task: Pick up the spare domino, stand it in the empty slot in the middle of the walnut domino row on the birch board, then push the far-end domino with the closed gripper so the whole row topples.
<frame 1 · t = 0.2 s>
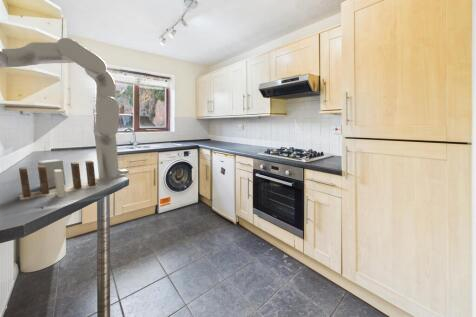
spare domino: (61, 197, 88), on the countertop
domino end: (26, 195, 88), point 1 cm above the countertop, touching board
supplement box: (53, 187, 103), on the countertop
domino 4: (45, 192, 91), point 1 cm above the countertop, touching board
domino 2: (77, 187, 99), point 1 cm above the countertop, touching board
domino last: (91, 184, 103), point 1 cm above the countertop, touching board
board: (62, 192, 96), on the countertop
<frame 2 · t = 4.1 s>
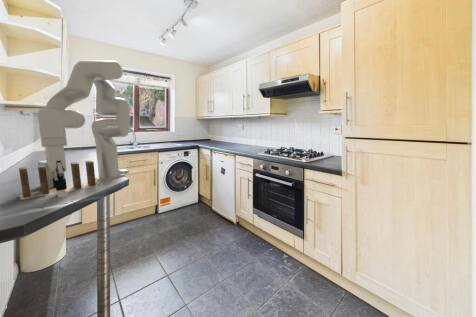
hand: (60, 187, 88), 4 cm above the countertop, tool pointing down, fingers closed on spare domino, 5 cm apart
spare domino: (61, 197, 88), on the countertop, touching gripper
everything else where it was.
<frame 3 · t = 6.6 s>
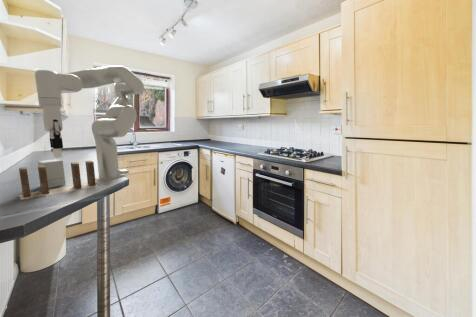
hand: (56, 147, 93), 19 cm above the countertop, tool pointing down, fingers closed on spare domino, 5 cm apart
spare domino: (58, 157, 93), point 15 cm above the countertop, touching gripper
everything else where it was.
when the fingers open (6 cm above the countertop, at t = 9.5 s): spare domino stays where it is, resting on board.
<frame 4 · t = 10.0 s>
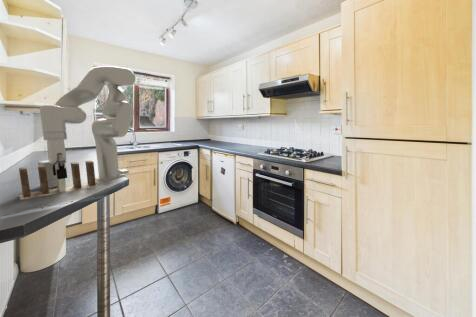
hand: (60, 176, 95), 7 cm above the countertop, tool pointing down, fingers open, 9 cm apart
spare domino: (61, 190, 95), point 1 cm above the countertop, touching board
everything else where it was.
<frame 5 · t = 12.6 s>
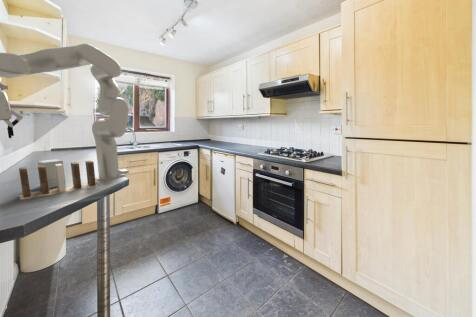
nothing on the countertop moved.
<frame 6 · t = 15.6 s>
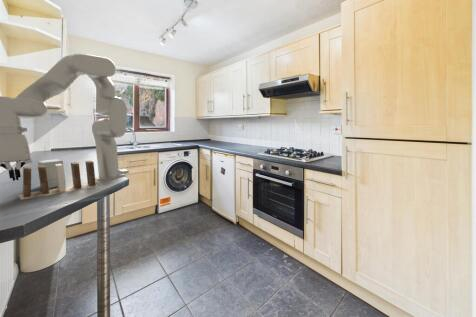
hand: (15, 179, 85), 8 cm above the countertop, tool pointing down, fingers closed
domino end: (26, 195, 88), point 1 cm above the countertop, tilted 7°, touching board, gripper
everything else where it was.
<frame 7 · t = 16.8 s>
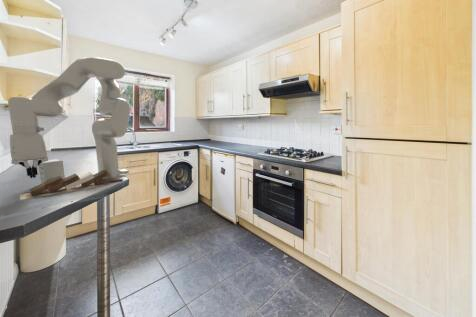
hand: (32, 177, 88), 8 cm above the countertop, tool pointing down, fingers closed
spare domino: (65, 187, 96), point 2 cm above the countertop, tilted 70°, touching board, domino 2, domino 4
domino end: (30, 192, 88), point 2 cm above the countertop, tilted 68°, touching board, domino 4
domino 4: (48, 189, 92), point 2 cm above the countertop, tilted 68°, touching domino end, spare domino
domino 2: (81, 184, 100), point 2 cm above the countertop, tilted 69°, touching board, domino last, spare domino
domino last: (95, 182, 104), point 2 cm above the countertop, tilted 96°, touching board, domino 2
everything else where it was.
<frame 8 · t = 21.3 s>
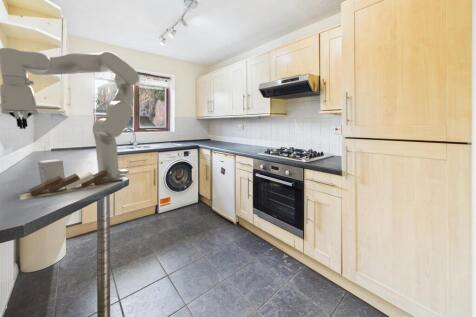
hand: (22, 128, 92), 27 cm above the countertop, tool pointing down, fingers closed
domino 2: (81, 184, 100), point 2 cm above the countertop, tilted 69°, touching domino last, spare domino
everything else where it was.
at the end: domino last tilted 96°; spare domino 1.1 cm off-centre on the board, point 1.9 cm above the board's base; spare domino tilted 70° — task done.
